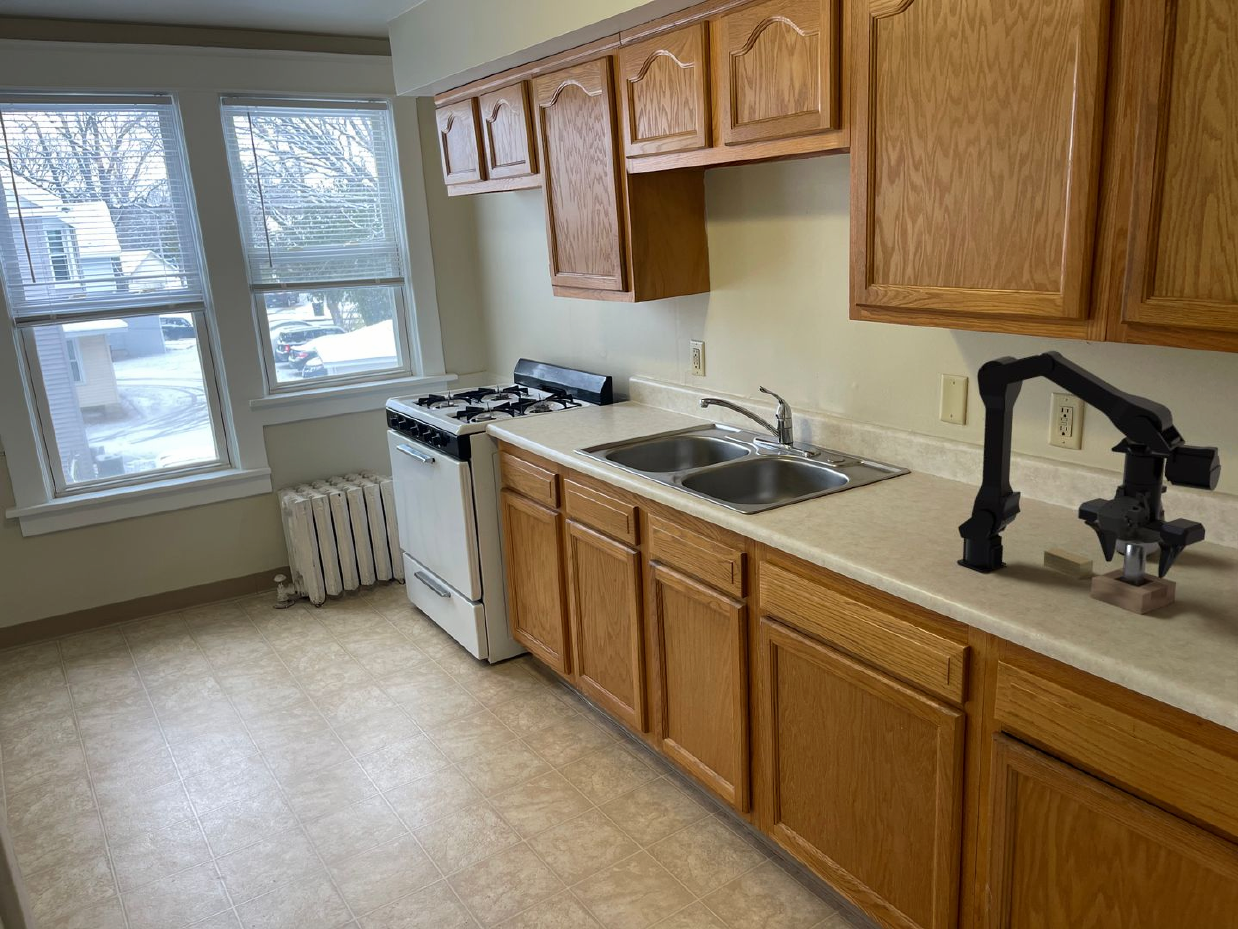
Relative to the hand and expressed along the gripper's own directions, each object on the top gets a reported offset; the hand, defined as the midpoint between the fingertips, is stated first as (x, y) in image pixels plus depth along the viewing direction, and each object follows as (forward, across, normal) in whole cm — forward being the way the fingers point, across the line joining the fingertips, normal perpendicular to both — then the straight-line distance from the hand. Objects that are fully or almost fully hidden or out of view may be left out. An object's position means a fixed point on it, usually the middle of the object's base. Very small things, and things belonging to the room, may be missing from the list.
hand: (1134, 569), depth 155 cm
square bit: (+6, -14, +3) cm, 16 cm away
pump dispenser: (+6, -14, +21) cm, 26 cm away
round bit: (+6, 0, 0) cm, 6 cm away
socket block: (+6, 0, 0) cm, 6 cm away
